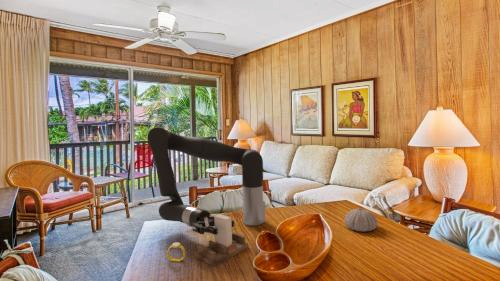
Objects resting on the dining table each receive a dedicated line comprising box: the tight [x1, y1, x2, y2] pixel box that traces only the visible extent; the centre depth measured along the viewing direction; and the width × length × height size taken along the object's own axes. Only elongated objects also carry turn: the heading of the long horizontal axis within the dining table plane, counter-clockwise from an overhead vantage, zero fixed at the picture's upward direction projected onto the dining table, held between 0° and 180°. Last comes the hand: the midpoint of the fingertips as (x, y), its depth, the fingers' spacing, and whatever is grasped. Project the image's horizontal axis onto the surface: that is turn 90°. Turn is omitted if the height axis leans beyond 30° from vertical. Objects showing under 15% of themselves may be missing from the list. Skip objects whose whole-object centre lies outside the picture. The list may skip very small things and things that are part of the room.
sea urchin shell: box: [344, 208, 378, 232], centre depth 118 cm, size 13×14×8 cm
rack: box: [194, 231, 249, 268], centre depth 99 cm, size 10×17×4 cm, turn 140°
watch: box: [166, 241, 186, 263], centre depth 94 cm, size 6×3×6 cm, turn 89°
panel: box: [214, 213, 233, 253], centre depth 98 cm, size 6×2×12 cm, turn 50°
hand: (225, 227), depth 97 cm, fingers open, 8 cm apart
